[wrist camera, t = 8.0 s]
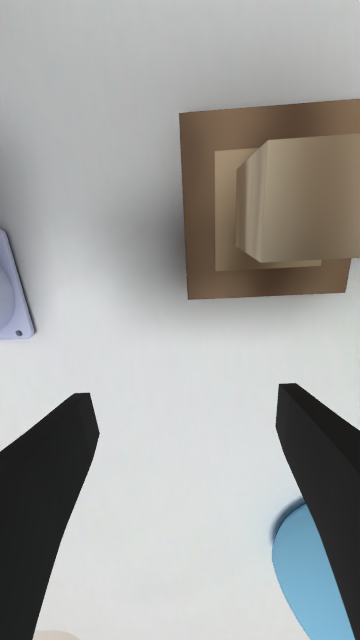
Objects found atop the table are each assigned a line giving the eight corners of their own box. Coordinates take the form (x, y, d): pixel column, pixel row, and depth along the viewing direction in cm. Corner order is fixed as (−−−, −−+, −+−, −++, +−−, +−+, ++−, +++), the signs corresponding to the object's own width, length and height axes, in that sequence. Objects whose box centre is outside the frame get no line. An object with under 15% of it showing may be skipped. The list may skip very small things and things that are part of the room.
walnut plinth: (187, 291, 19) (187, 300, 17) (180, 125, 15) (179, 112, 13) (329, 284, 18) (346, 293, 17) (356, 111, 15) (382, 96, 13)
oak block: (234, 245, 16) (260, 262, 10) (236, 169, 14) (268, 140, 9) (303, 242, 15) (367, 257, 10) (311, 164, 14) (393, 130, 8)
